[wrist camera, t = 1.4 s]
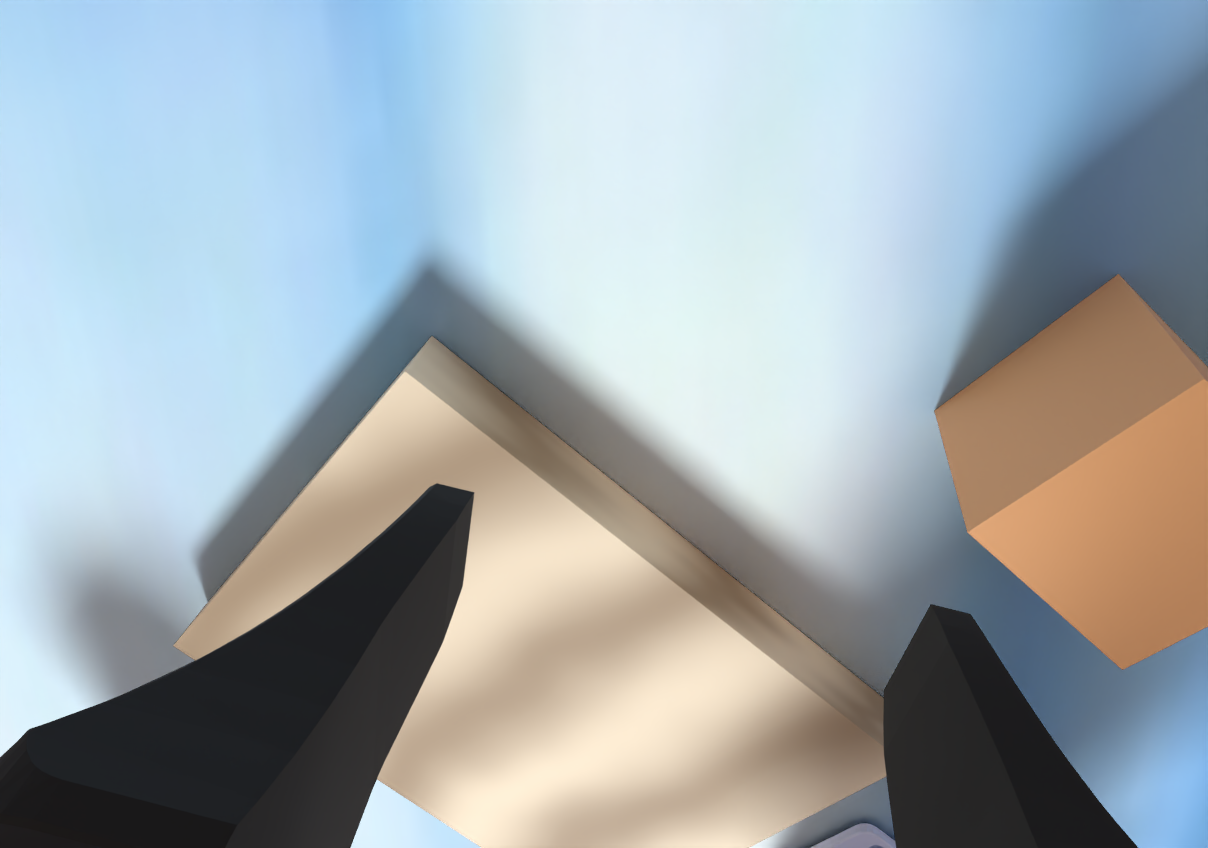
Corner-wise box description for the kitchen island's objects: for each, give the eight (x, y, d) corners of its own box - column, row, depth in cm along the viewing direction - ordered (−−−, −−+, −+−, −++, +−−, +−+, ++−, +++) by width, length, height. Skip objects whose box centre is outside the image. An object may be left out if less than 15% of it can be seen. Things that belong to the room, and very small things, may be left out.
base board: (900, 711, 28) (907, 765, 26) (608, 873, 35) (599, 924, 33) (432, 335, 24) (404, 371, 22) (206, 603, 31) (172, 645, 29)
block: (1251, 412, 21) (1365, 546, 17) (1063, 528, 24) (1121, 670, 20) (1116, 272, 20) (1204, 378, 16) (934, 409, 23) (967, 532, 18)
